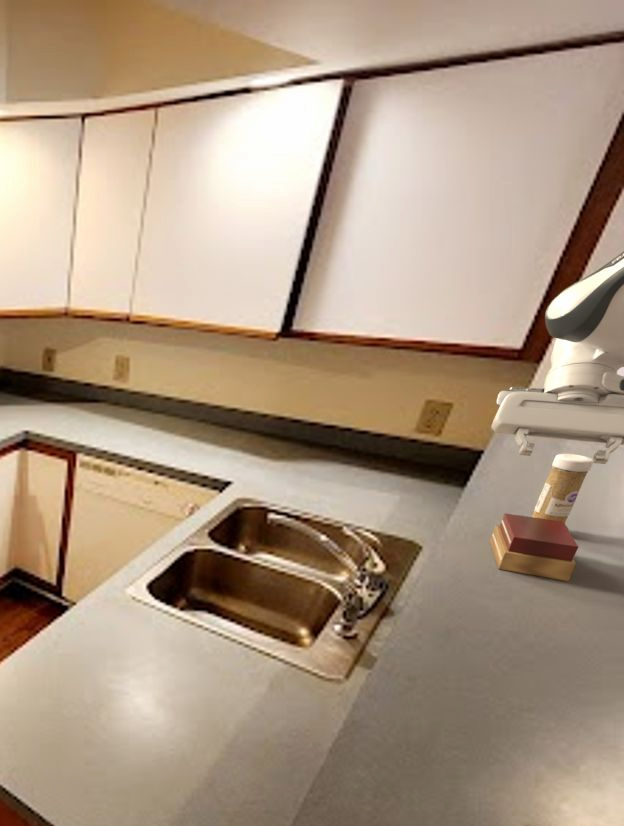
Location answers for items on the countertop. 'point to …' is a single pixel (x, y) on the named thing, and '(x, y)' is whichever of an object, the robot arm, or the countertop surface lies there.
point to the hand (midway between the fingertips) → (561, 457)
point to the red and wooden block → (534, 547)
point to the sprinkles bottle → (562, 487)
